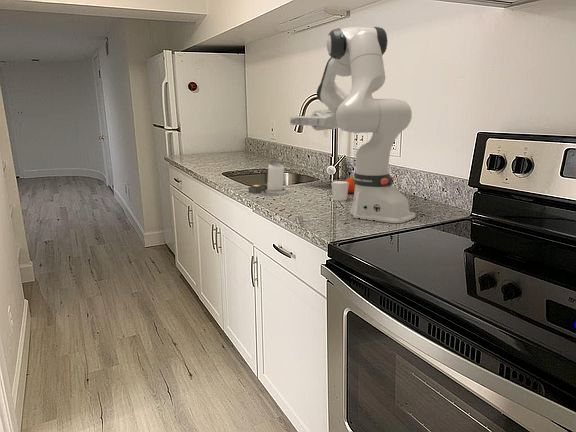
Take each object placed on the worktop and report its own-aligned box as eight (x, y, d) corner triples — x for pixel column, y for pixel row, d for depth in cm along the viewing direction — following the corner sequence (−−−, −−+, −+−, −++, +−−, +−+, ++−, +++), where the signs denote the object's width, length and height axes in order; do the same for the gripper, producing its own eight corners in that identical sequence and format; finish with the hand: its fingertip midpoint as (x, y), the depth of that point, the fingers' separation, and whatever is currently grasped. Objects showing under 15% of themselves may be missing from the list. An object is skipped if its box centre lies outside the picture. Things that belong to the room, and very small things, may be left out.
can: (279, 194, 189) (281, 166, 184) (265, 191, 190) (266, 164, 185) (284, 189, 194) (286, 162, 189) (270, 186, 196) (271, 159, 191)
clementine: (363, 194, 191) (364, 177, 190) (348, 195, 189) (349, 178, 188) (355, 191, 199) (355, 175, 197) (340, 192, 197) (341, 176, 195)
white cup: (349, 198, 185) (349, 181, 183) (346, 201, 179) (347, 184, 177) (332, 197, 187) (333, 180, 185) (329, 200, 181) (329, 183, 179)
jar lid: (290, 192, 192) (290, 189, 192) (276, 195, 186) (276, 192, 185) (275, 189, 198) (275, 186, 197) (261, 192, 191) (261, 189, 191)
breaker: (262, 190, 193) (262, 185, 192) (256, 191, 191) (256, 186, 190) (256, 189, 195) (256, 184, 195) (250, 190, 193) (250, 185, 192)
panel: (290, 194, 192) (290, 186, 191) (271, 199, 184) (270, 191, 183) (267, 190, 201) (267, 183, 201) (247, 195, 193) (247, 187, 192)
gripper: (302, 112, 208) (281, 113, 198) (338, 113, 194) (318, 114, 185) (302, 126, 209) (281, 128, 200) (338, 128, 196) (318, 130, 186)
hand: (299, 121), depth 192 cm, fingers open, 8 cm apart
